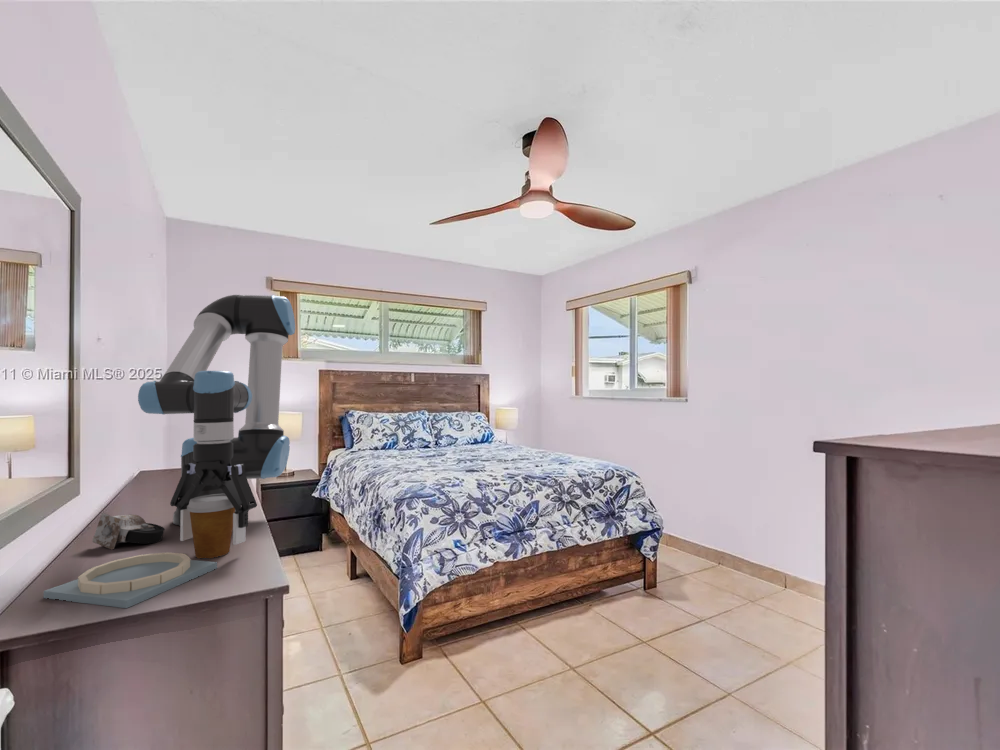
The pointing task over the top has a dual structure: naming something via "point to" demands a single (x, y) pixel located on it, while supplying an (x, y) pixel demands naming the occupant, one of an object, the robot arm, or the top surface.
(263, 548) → the top surface
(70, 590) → the collar base
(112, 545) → the caster wheel
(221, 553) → the disposable coffee cup
